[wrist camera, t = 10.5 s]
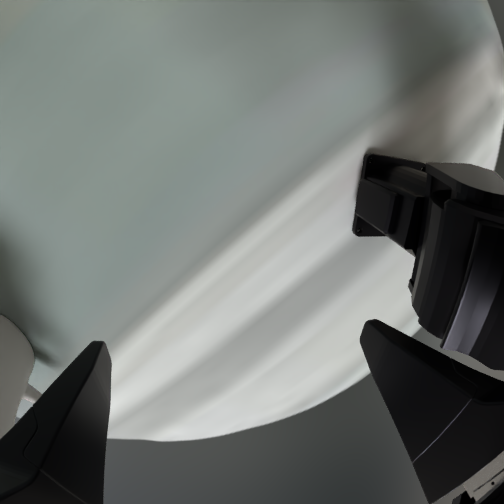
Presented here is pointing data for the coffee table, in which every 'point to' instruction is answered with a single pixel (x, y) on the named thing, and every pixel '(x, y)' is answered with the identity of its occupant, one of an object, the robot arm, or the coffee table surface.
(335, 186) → the coffee table surface
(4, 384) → the mug
